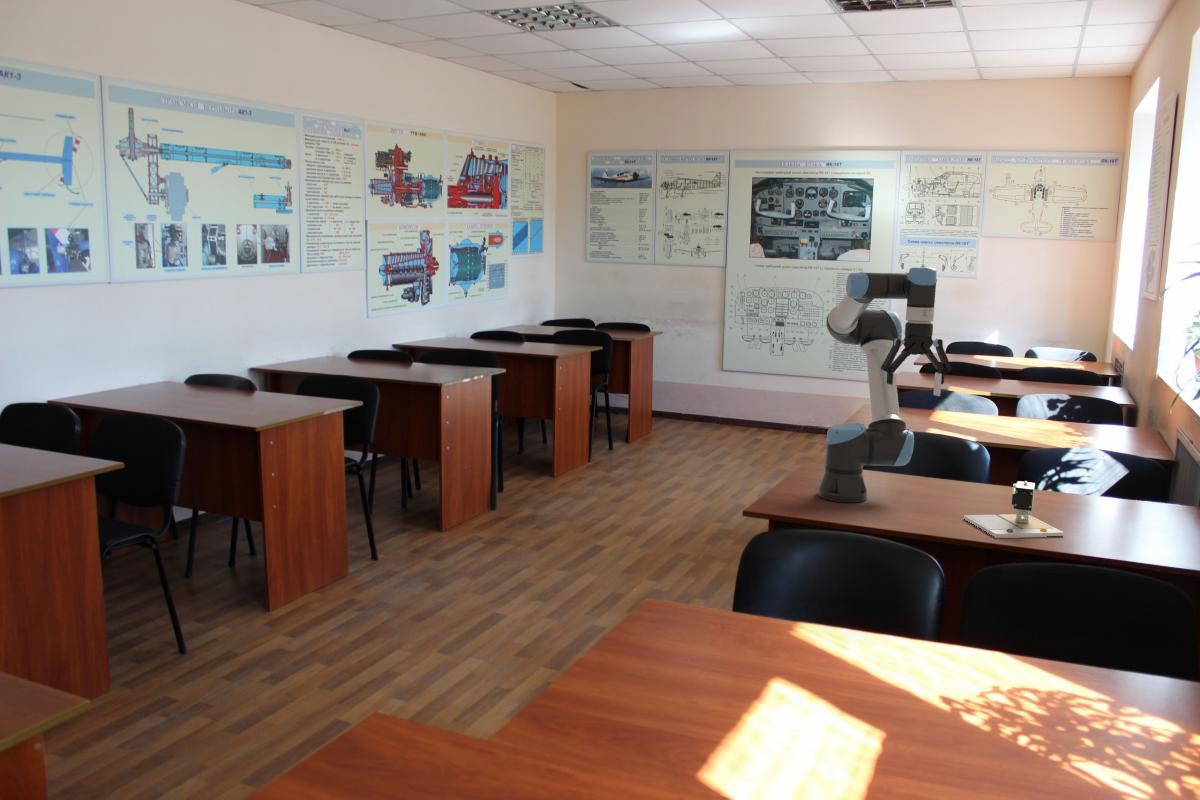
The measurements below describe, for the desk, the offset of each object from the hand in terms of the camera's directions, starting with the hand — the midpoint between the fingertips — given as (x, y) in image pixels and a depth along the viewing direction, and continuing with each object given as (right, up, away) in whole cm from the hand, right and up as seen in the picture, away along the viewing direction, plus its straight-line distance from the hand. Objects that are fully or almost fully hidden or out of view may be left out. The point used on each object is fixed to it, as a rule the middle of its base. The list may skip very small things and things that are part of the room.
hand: (914, 395), depth 274 cm
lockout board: (+28, -38, -2) cm, 47 cm away
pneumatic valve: (+31, -37, 0) cm, 48 cm away
